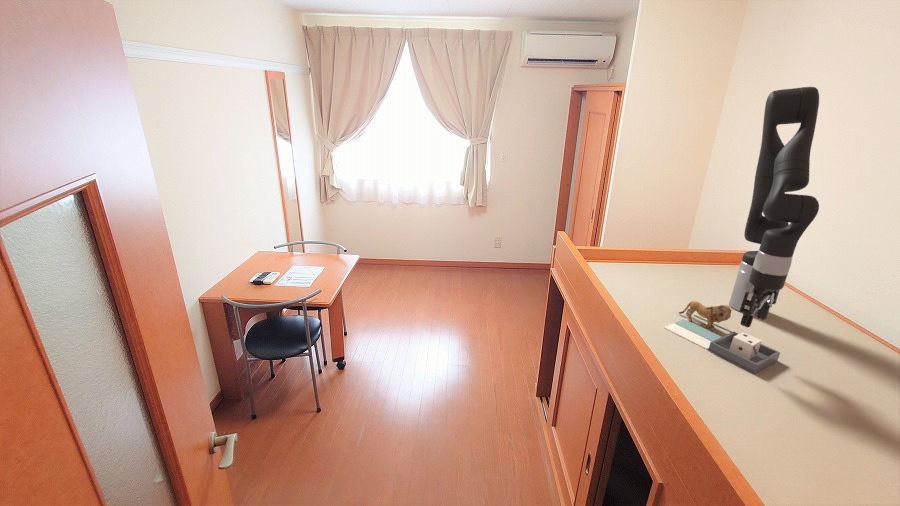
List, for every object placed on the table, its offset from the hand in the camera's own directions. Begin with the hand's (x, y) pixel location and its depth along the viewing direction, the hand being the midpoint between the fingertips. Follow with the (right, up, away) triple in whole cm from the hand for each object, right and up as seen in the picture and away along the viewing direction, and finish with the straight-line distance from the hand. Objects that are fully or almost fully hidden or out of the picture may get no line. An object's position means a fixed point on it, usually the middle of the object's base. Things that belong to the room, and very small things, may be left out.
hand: (753, 322), depth 111 cm
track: (-5, -6, +16) cm, 18 cm away
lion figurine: (-1, -4, +21) cm, 21 cm away
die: (0, -10, +4) cm, 11 cm away
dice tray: (0, -10, +4) cm, 11 cm away
